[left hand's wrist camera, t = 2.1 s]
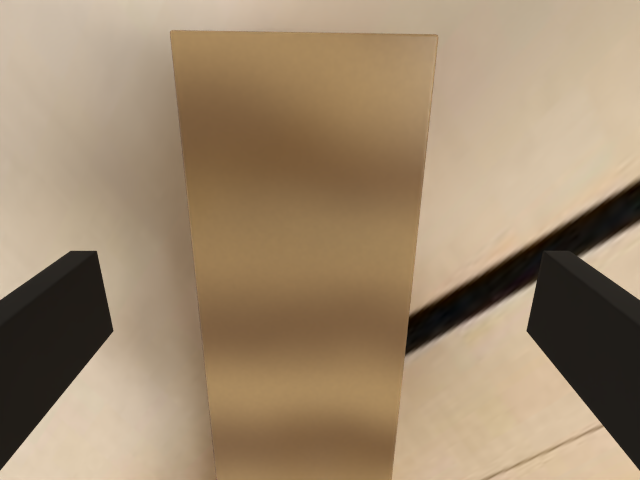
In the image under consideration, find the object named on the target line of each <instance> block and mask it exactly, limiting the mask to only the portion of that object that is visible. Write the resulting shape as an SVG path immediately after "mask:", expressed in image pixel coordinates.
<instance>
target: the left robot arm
mask: <svg viewBox="0 0 640 480" xmlns="http://www.w3.org/2000/svg"><path fill="white" fill-rule="evenodd" d="M112 332H113V327H112V322H111V317H110V312H109V307H108V303H107V298H106V293H105V288H104V283H103V279H102V274H101V269H100V264H99V260H98V255H97V251H70V252H68V253H67V254H66V255H64V256H63V257H61V258H60V259H58V260H57V261H56V262H54V263H53V264H51V265H50V266H48V267H47V268H46V269H44V270H43V271H41V272H40V273H38V274H37V275H36V276H34V277H33V278H31V279H30V280H28V281H27V282H26V283H24V284H23V285H21V286H20V287H18V288H17V289H16V290H14V291H13V292H11V293H10V294H8V295H7V296H6V297H4V298H3V299H1V300H0V470H1V469H2V468H3V466H4V465H5V464H6V463H7V462H8V460H9V459H10V458H11V457H12V455H13V454H14V453H15V452H16V450H17V449H18V448H19V447H20V446H21V444H22V443H23V442H24V441H25V439H26V438H27V437H28V436H29V434H30V433H31V432H32V431H33V430H34V428H35V427H36V426H37V425H38V423H39V422H40V421H41V420H42V418H43V417H44V416H45V415H46V413H47V412H48V411H49V410H50V409H51V407H52V406H53V405H54V404H55V402H56V401H57V400H58V399H59V397H60V396H61V395H62V394H63V393H64V391H65V390H66V389H67V388H68V386H69V385H70V384H71V383H72V381H73V380H74V379H75V378H76V377H77V375H78V374H79V373H80V372H81V370H82V369H83V368H84V367H85V365H86V364H87V363H88V362H89V361H90V359H91V358H92V357H93V356H94V354H95V353H96V352H97V351H98V349H99V348H100V347H101V346H102V344H103V343H104V342H105V341H106V340H107V338H108V337H109V336H110V335H111V333H112ZM527 332H528V333H529V335H530V336H531V337H532V338H533V340H534V341H535V342H536V343H537V344H538V346H539V347H540V348H541V349H542V351H543V352H544V353H545V354H546V356H547V357H548V358H549V359H550V361H551V362H552V363H553V364H554V365H555V367H556V368H557V369H558V370H559V372H560V373H561V374H562V375H563V377H564V378H565V379H566V380H567V381H568V383H569V384H570V385H571V386H572V388H573V389H574V390H575V391H576V393H577V394H578V395H579V396H580V397H581V399H582V400H583V401H584V402H585V404H586V405H587V406H588V407H589V409H590V410H591V411H592V412H593V413H594V415H595V416H596V417H597V418H598V420H599V421H600V422H601V423H602V425H603V426H604V427H605V428H606V430H607V431H608V432H609V433H610V434H611V436H612V437H613V438H614V439H615V441H616V442H617V443H618V444H619V446H620V447H621V448H622V449H623V450H624V452H625V453H626V454H627V455H628V457H629V458H630V459H631V460H632V462H633V463H634V464H635V465H636V466H637V468H638V469H639V470H640V300H639V299H637V298H636V297H634V296H633V295H632V294H630V293H629V292H627V291H626V290H624V289H623V288H622V287H620V286H619V285H617V284H616V283H614V282H613V281H612V280H610V279H609V278H607V277H606V276H604V275H603V274H602V273H600V272H599V271H597V270H596V269H594V268H593V267H592V266H590V265H589V264H587V263H586V262H584V261H583V260H582V259H580V258H579V257H577V256H576V255H574V254H573V253H572V252H570V251H543V255H542V259H541V264H540V269H539V274H538V279H537V283H536V288H535V293H534V298H533V303H532V307H531V312H530V317H529V322H528V327H527Z"/></svg>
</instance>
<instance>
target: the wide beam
mask: <svg viewBox="0 0 640 480" xmlns="http://www.w3.org/2000/svg"><path fill="white" fill-rule="evenodd" d="M170 38H171V48H172V57H173V67H174V76H175V86H176V96H177V105H178V115H179V125H180V134H181V144H182V153H183V163H184V173H185V182H186V192H187V201H188V211H189V221H190V230H191V240H192V249H193V259H194V269H195V278H196V288H197V298H198V307H199V317H200V326H201V336H202V346H203V355H204V365H205V374H206V384H207V394H208V403H209V413H210V422H211V432H212V442H213V451H214V461H215V470H216V480H392V470H393V461H394V451H395V442H396V433H397V423H398V414H399V404H400V395H401V385H402V376H403V366H404V357H405V347H406V338H407V328H408V319H409V310H410V300H411V291H412V281H413V272H414V262H415V253H416V243H417V234H418V224H419V215H420V205H421V196H422V187H423V177H424V168H425V158H426V149H427V139H428V130H429V120H430V111H431V101H432V92H433V83H434V73H435V64H436V54H437V45H438V35H436V34H376V33H312V32H249V31H186V30H172V31H170Z"/></svg>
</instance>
